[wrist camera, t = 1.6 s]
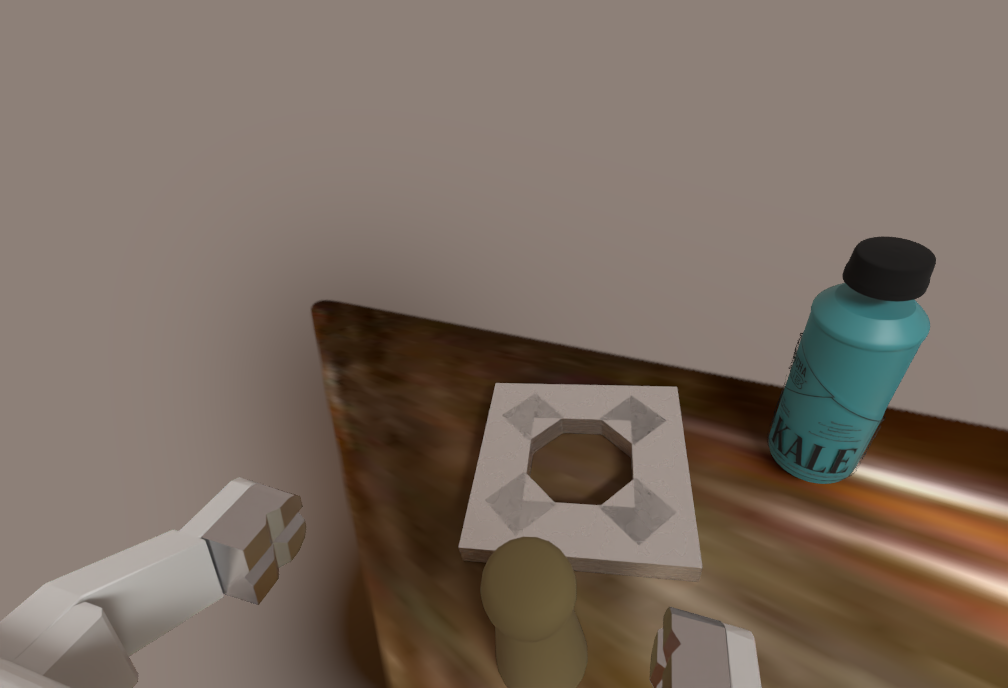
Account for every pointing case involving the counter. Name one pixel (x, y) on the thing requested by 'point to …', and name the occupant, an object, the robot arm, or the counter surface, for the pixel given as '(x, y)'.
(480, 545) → the jig plate
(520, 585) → the olive peg doll
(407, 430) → the counter surface
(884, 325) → the beverage bottle
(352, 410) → the counter surface
